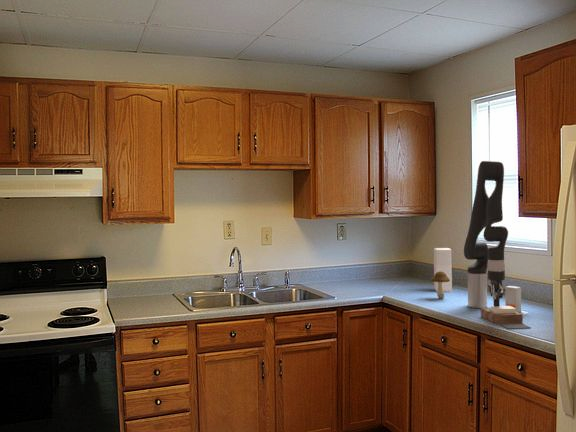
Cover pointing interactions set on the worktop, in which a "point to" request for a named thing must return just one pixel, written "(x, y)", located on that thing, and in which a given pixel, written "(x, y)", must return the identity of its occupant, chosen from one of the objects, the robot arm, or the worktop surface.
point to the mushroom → (440, 282)
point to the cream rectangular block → (503, 309)
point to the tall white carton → (443, 267)
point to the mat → (514, 326)
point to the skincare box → (513, 297)
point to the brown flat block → (501, 317)
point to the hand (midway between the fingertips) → (496, 306)
